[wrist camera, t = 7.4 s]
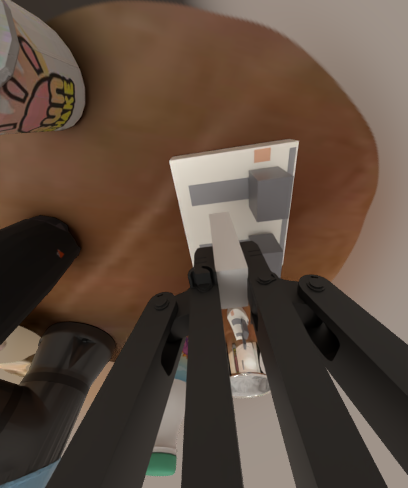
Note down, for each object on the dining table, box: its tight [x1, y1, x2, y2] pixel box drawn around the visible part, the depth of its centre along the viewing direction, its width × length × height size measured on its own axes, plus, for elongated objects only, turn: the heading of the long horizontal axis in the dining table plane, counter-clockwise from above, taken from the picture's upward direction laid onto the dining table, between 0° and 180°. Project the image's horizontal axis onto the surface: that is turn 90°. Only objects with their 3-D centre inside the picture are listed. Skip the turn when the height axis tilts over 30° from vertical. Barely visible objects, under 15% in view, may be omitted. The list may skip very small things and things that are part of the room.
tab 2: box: [248, 233, 283, 278], centre depth 23 cm, size 3×4×4 cm
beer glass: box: [221, 302, 271, 398], centre depth 27 cm, size 7×7×15 cm
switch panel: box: [169, 139, 299, 267], centre depth 24 cm, size 13×16×3 cm
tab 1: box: [249, 166, 294, 222], centre depth 19 cm, size 3×4×4 cm
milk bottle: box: [146, 336, 188, 476], centre depth 32 cm, size 8×8×20 cm
